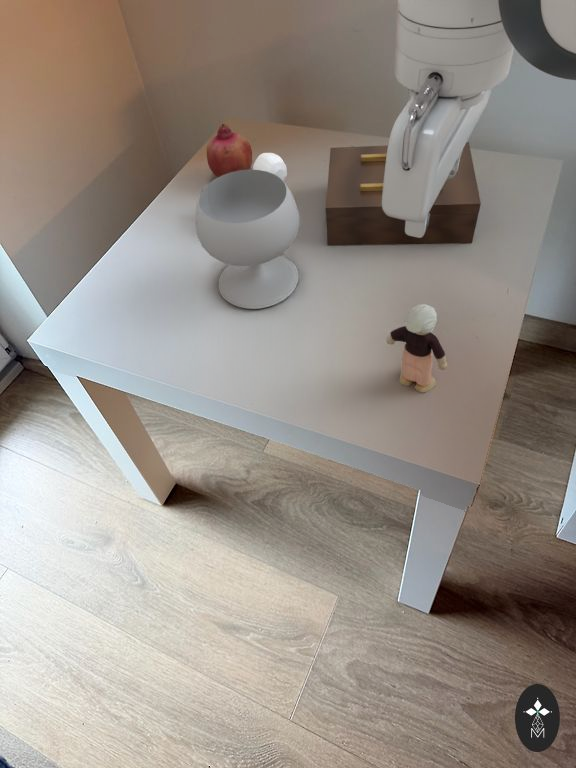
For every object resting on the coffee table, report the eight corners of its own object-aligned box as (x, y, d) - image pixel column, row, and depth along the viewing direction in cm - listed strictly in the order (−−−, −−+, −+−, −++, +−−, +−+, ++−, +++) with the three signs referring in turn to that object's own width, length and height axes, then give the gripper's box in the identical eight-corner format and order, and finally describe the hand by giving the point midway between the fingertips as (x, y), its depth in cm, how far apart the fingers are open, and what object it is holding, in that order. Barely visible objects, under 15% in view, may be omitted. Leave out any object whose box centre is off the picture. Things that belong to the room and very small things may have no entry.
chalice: (194, 292, 81) (166, 207, 69) (252, 240, 87) (236, 153, 75) (266, 329, 75) (249, 244, 63) (323, 270, 81) (318, 182, 69)
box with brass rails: (461, 181, 91) (469, 137, 85) (472, 243, 82) (482, 198, 75) (331, 185, 94) (330, 142, 88) (327, 245, 85) (325, 203, 78)
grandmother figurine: (447, 376, 68) (463, 305, 57) (438, 399, 66) (454, 330, 56) (388, 359, 70) (394, 288, 60) (378, 381, 68) (383, 312, 58)
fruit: (203, 186, 97) (189, 133, 89) (227, 162, 101) (216, 109, 93) (240, 195, 95) (230, 142, 87) (263, 171, 98) (255, 117, 90)
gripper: (454, 121, 35) (430, 280, 46) (525, -2, 45) (491, 152, 56) (363, 108, 37) (361, 263, 48) (451, -7, 47) (432, 142, 58)
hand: (432, 202), depth 52 cm, fingers open, 8 cm apart
